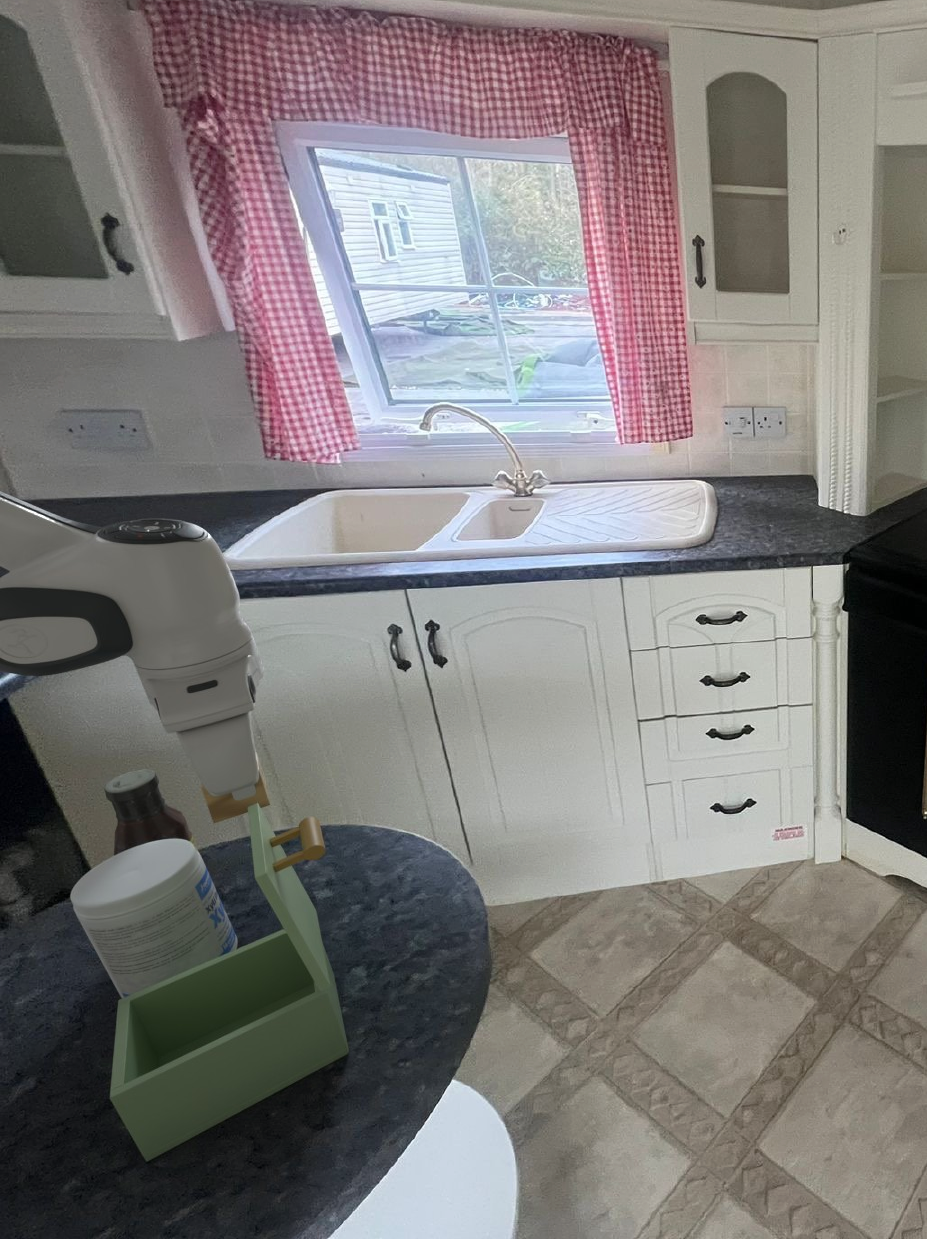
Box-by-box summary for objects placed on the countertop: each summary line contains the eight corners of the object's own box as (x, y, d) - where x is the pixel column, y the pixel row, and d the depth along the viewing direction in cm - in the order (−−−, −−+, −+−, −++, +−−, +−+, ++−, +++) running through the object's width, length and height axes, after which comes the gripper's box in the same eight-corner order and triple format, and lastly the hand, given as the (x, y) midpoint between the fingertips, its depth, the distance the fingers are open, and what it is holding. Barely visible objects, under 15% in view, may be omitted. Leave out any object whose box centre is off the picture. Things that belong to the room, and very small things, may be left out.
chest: (146, 1162, 65) (109, 1098, 62) (150, 1061, 73) (118, 999, 70) (349, 1053, 74) (326, 992, 71) (333, 974, 82) (312, 916, 79)
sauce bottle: (131, 940, 85) (64, 804, 78) (166, 897, 91) (106, 767, 83) (200, 929, 87) (141, 795, 79) (230, 888, 92) (177, 759, 85)
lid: (254, 878, 64) (319, 849, 67) (247, 806, 72) (305, 783, 75) (320, 992, 71) (377, 961, 74) (307, 915, 79) (358, 890, 81)
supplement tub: (258, 952, 84) (217, 854, 79) (151, 1026, 76) (97, 921, 71) (210, 922, 88) (167, 825, 82) (102, 989, 80) (47, 886, 74)
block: (213, 823, 78) (201, 788, 76) (212, 800, 81) (200, 766, 79) (270, 805, 81) (259, 771, 79) (266, 783, 84) (256, 750, 82)
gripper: (161, 642, 80) (201, 746, 85) (160, 728, 67) (208, 847, 72) (238, 625, 84) (272, 726, 90) (252, 703, 71) (291, 817, 76)
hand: (243, 780), depth 81 cm, fingers closed on block, 4 cm apart
